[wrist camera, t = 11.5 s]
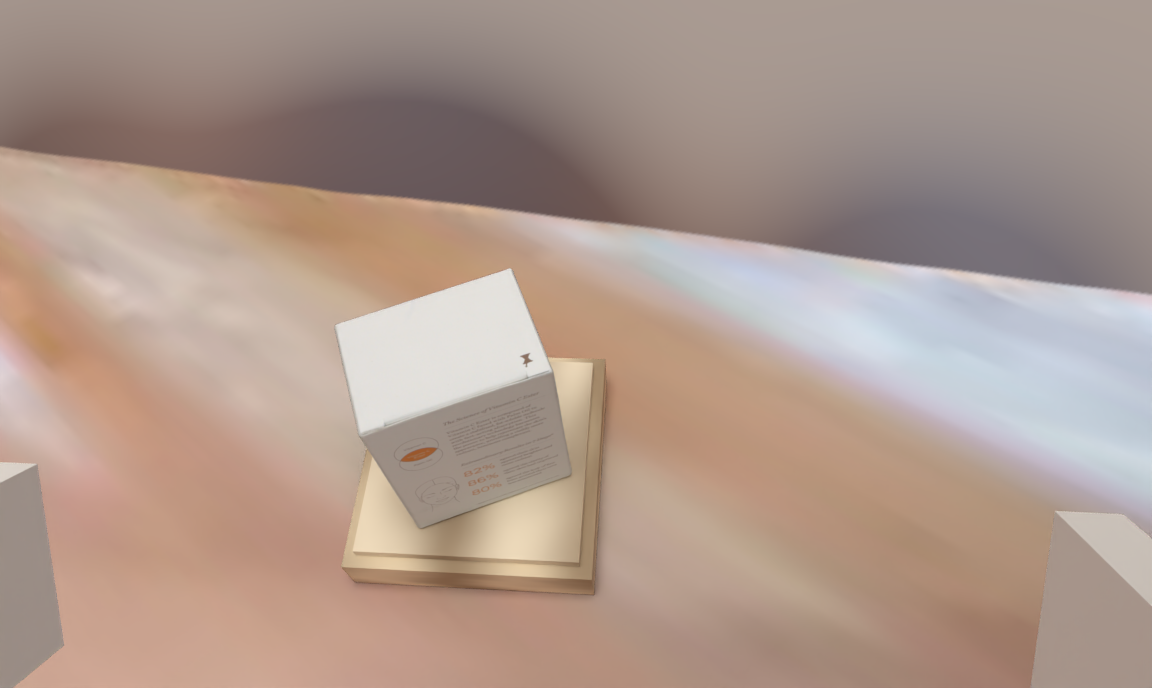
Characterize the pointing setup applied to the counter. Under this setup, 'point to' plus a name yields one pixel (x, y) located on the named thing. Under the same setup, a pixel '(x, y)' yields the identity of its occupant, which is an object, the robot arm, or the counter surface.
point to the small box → (455, 397)
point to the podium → (497, 516)
